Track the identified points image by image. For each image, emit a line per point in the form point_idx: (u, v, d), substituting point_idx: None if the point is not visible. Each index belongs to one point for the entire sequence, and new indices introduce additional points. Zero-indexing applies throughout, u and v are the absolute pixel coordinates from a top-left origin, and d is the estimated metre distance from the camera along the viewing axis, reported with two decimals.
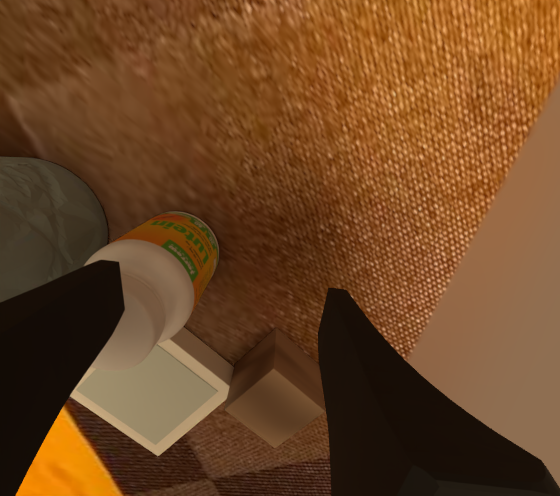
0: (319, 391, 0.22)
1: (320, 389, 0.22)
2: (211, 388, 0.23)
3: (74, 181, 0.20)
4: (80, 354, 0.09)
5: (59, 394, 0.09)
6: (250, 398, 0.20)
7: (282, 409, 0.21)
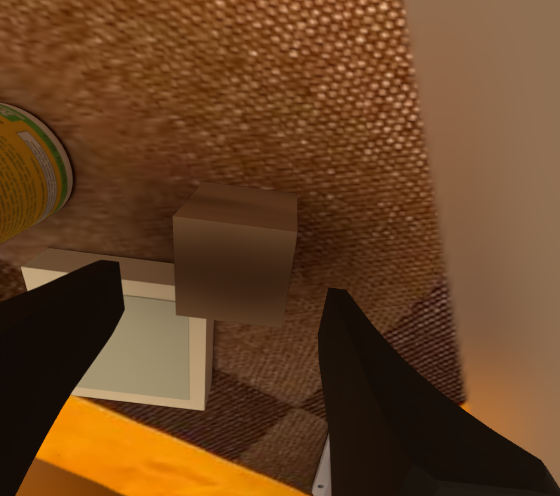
0: (288, 216, 0.13)
1: (292, 214, 0.13)
2: None
3: None
4: (80, 354, 0.09)
5: (59, 394, 0.09)
6: (189, 280, 0.13)
7: (240, 269, 0.13)
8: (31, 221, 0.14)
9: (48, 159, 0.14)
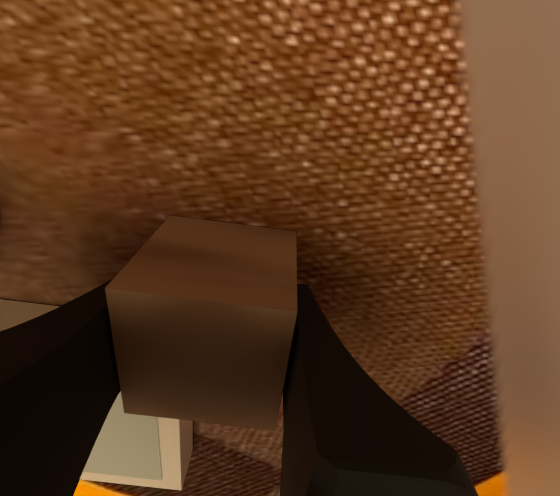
0: (283, 278, 0.09)
1: (289, 272, 0.09)
2: None
3: None
4: None
5: (107, 400, 0.09)
6: (138, 372, 0.09)
7: (212, 359, 0.09)
8: None
9: None
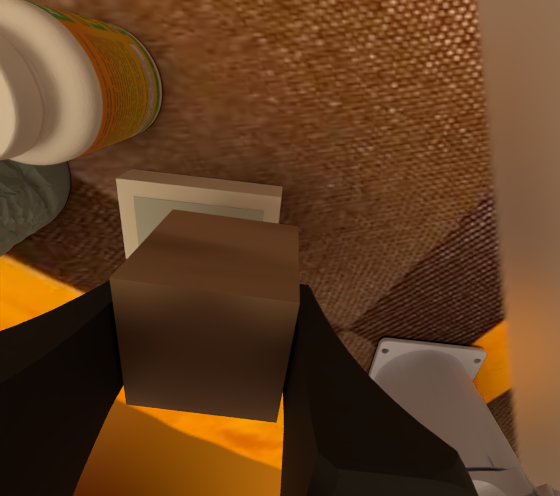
0: (286, 270, 0.09)
1: (291, 265, 0.09)
2: (254, 213, 0.18)
3: None
4: None
5: (106, 400, 0.09)
6: (141, 362, 0.09)
7: (215, 350, 0.09)
8: (135, 127, 0.16)
9: (149, 71, 0.16)
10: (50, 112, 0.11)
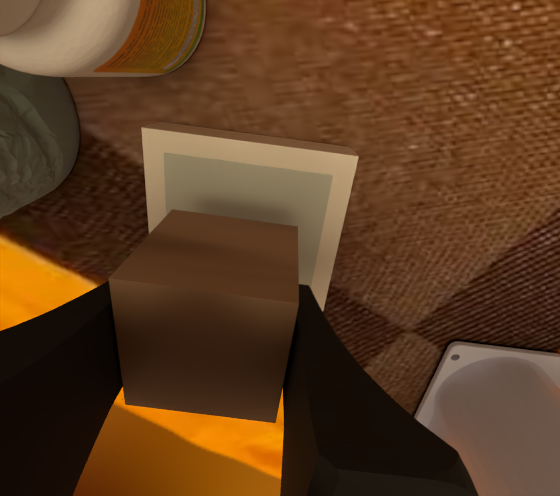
0: (285, 271, 0.09)
1: (291, 265, 0.09)
2: (321, 178, 0.14)
3: None
4: None
5: (106, 400, 0.09)
6: (140, 363, 0.09)
7: (214, 350, 0.09)
8: (174, 49, 0.12)
9: None
10: None
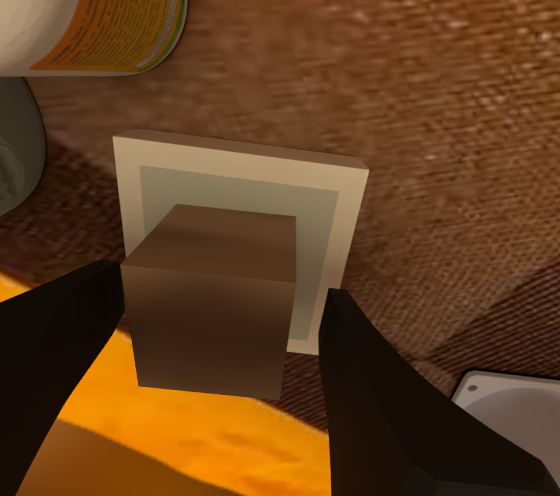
0: (284, 255, 0.10)
1: (289, 250, 0.10)
2: (324, 195, 0.12)
3: None
4: (80, 354, 0.09)
5: (59, 394, 0.09)
6: (151, 345, 0.10)
7: (219, 331, 0.09)
8: (146, 42, 0.09)
9: None
10: None
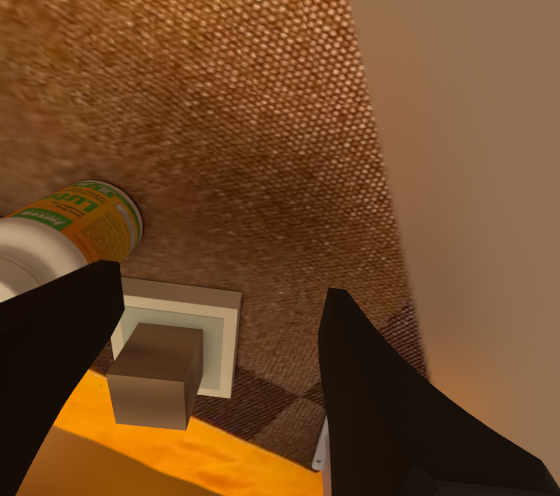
0: (184, 363, 0.20)
1: (188, 359, 0.21)
2: (216, 319, 0.23)
3: None
4: (80, 354, 0.09)
5: (59, 394, 0.09)
6: (121, 405, 0.20)
7: (152, 400, 0.20)
8: (119, 263, 0.20)
9: (131, 221, 0.20)
10: None
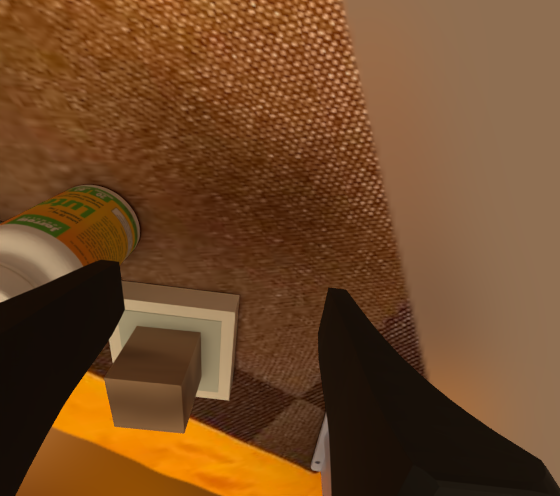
0: (182, 366, 0.20)
1: (186, 362, 0.21)
2: (214, 322, 0.23)
3: None
4: (80, 354, 0.09)
5: (59, 394, 0.09)
6: (119, 409, 0.20)
7: (150, 403, 0.20)
8: None
9: (128, 225, 0.20)
10: None
